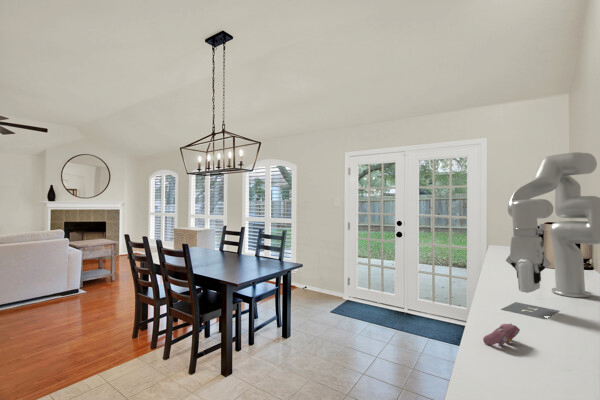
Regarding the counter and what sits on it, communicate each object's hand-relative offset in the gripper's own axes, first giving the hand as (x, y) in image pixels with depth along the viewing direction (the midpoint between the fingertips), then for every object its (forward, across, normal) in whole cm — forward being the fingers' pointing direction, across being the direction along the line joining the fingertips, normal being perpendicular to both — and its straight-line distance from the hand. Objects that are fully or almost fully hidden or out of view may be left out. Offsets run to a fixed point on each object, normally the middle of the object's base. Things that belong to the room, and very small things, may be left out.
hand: (528, 281), depth 114 cm
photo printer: (+3, 0, 0) cm, 3 cm away
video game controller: (+10, -6, +39) cm, 41 cm away
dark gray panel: (+11, 0, +1) cm, 11 cm away
